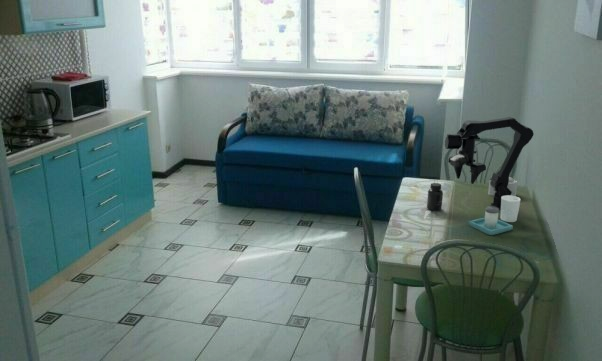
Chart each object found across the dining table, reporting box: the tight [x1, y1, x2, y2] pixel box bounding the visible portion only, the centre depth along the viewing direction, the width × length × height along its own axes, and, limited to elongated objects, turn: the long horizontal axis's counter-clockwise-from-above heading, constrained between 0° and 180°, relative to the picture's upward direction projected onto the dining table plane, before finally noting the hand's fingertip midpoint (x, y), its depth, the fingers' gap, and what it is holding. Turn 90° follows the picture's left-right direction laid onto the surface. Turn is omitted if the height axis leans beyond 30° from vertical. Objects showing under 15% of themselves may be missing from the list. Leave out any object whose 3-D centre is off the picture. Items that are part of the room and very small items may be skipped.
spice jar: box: [484, 205, 500, 229], centre depth 235 cm, size 5×5×8 cm
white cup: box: [500, 195, 521, 223], centre depth 244 cm, size 8×8×10 cm
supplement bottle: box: [426, 182, 444, 212], centre depth 257 cm, size 7×7×12 cm
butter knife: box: [422, 210, 432, 220], centre depth 246 cm, size 1×24×3 cm
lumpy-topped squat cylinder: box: [488, 176, 518, 197], centre depth 277 cm, size 10×13×9 cm
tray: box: [468, 217, 514, 236], centre depth 237 cm, size 13×13×2 cm
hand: (465, 181), depth 258 cm, fingers open, 9 cm apart
